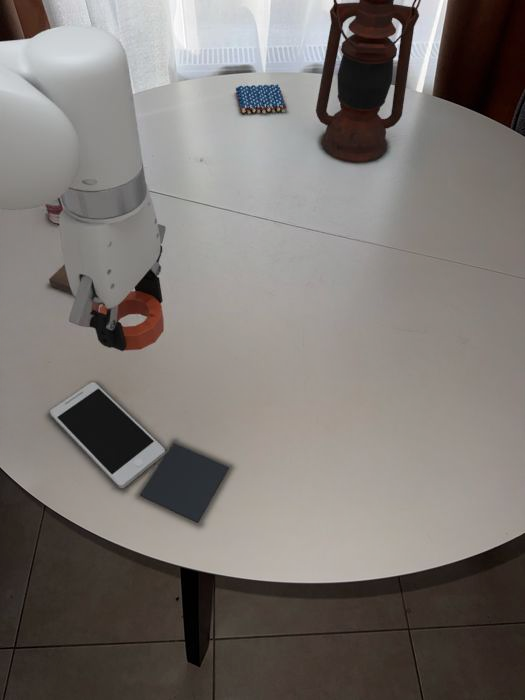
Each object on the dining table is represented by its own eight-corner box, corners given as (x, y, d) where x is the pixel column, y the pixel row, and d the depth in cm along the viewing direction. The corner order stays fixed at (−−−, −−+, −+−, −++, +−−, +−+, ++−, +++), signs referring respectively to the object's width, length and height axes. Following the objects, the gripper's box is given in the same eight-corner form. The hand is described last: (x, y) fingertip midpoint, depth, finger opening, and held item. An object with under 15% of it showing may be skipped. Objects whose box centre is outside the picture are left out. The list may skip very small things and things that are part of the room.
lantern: (392, 129, 126) (425, -27, 103) (397, 165, 117) (435, 2, 94) (312, 125, 127) (327, -32, 104) (312, 160, 118) (328, -3, 95)
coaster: (197, 523, 68) (197, 521, 68) (139, 495, 70) (139, 494, 70) (229, 468, 73) (228, 466, 73) (173, 443, 75) (173, 442, 75)
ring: (143, 358, 63) (140, 343, 61) (90, 338, 64) (86, 323, 62) (174, 316, 67) (172, 302, 65) (124, 298, 68) (120, 284, 67)
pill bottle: (68, 204, 107) (57, 164, 100) (81, 217, 104) (70, 177, 98) (44, 214, 105) (31, 174, 98) (57, 227, 102) (44, 187, 96)
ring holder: (97, 304, 91) (88, 270, 85) (51, 286, 93) (38, 252, 87) (129, 269, 96) (122, 235, 90) (84, 253, 98) (75, 218, 93)
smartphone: (121, 490, 70) (120, 486, 70) (50, 415, 77) (48, 411, 76) (166, 453, 74) (166, 449, 73) (94, 384, 80) (93, 380, 80)
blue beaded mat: (287, 113, 130) (287, 104, 128) (240, 115, 129) (240, 106, 127) (279, 91, 136) (280, 82, 135) (235, 93, 135) (234, 84, 134)
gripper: (120, 129, 57) (143, 265, 71) (2, 229, 47) (56, 366, 61) (187, 147, 55) (198, 283, 69) (80, 255, 45) (117, 390, 59)
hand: (131, 321), depth 65 cm, fingers closed on ring, 6 cm apart
